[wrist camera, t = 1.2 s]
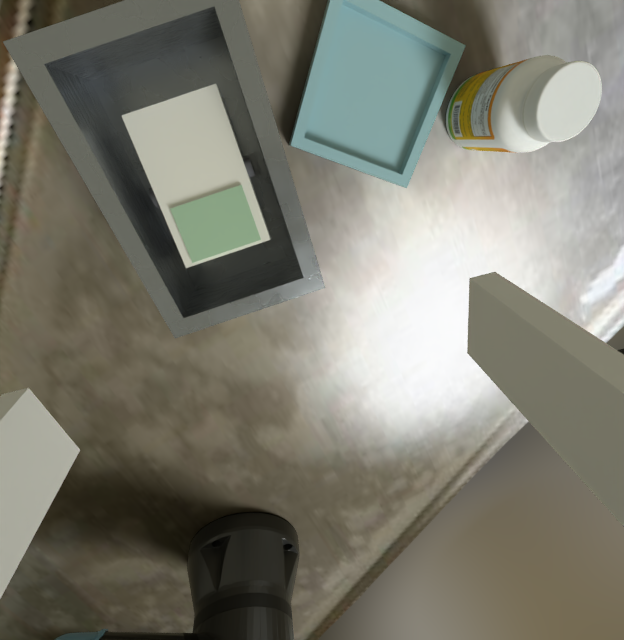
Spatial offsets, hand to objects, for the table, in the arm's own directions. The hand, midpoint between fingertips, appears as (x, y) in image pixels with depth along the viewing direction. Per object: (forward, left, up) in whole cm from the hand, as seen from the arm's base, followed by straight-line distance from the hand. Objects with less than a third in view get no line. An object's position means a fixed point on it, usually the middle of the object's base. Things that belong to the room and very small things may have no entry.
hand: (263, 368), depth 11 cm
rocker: (+2, +4, -17) cm, 17 cm away
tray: (+11, -6, -22) cm, 25 cm away
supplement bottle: (+13, -15, -22) cm, 30 cm away
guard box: (+2, +4, -22) cm, 22 cm away
